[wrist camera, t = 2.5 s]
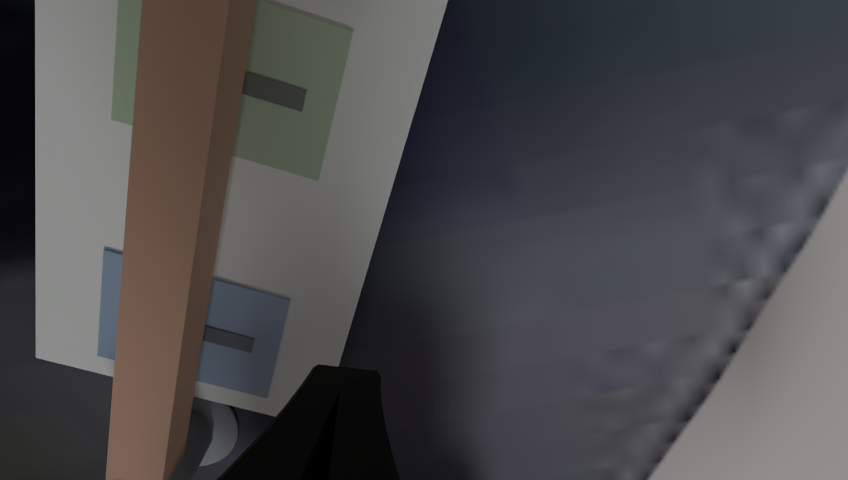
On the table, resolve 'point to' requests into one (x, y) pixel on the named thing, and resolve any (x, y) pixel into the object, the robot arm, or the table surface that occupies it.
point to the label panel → (230, 187)
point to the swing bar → (173, 229)
